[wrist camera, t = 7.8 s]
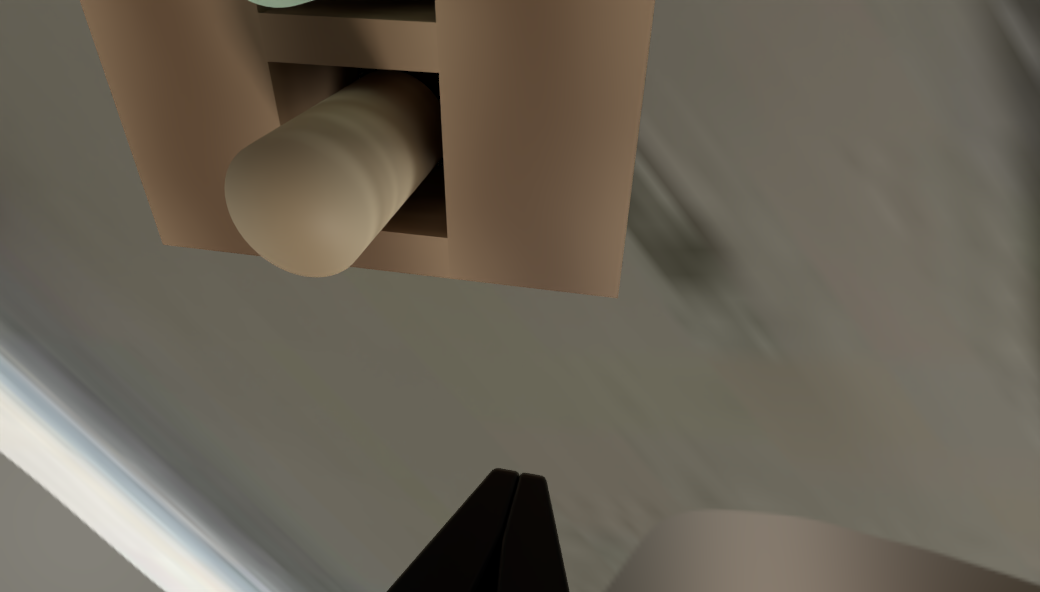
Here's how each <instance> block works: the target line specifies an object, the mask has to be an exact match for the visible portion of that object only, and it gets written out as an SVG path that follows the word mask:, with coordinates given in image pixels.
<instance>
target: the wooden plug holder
mask: <svg viewBox="0 0 1040 592" xmlns="http://www.w3.org/2000/svg"><path fill="white" fill-rule="evenodd" d="M80 2H81V5H82V8H83V11H84V14H85V17H86V20H87V23H88V26H89V29H90V31H91V34H92V37H93V40H94V43H95V46H96V49H97V52H98V55H99V58H100V61H101V64H102V67H103V70H104V73H105V75H106V78H107V81H108V84H109V87H110V90H111V93H112V96H113V99H114V102H115V105H116V108H117V111H118V114H119V116H120V119H121V122H122V125H123V128H124V131H125V134H126V137H127V140H128V143H129V146H130V149H131V152H132V155H133V158H134V160H135V163H136V166H137V169H138V172H139V175H140V178H141V181H142V184H143V187H144V190H145V193H146V196H147V199H148V202H149V204H150V207H151V210H152V213H153V216H154V219H155V222H156V225H157V228H158V231H159V234H160V237H161V240H162V243H163V245H171V246H180V247H188V248H197V249H205V250H214V251H222V252H231V253H239V254H247V255H256V256H261V255H259V254H258V253H257V252H256V251H255V250H254V249H253V248H252V247H251V246H250V245H249V244H248V243H247V242H246V241H245V239H244V238H243V237H242V235H241V234H240V233H239V231H238V229H237V228H236V226H235V224H234V223H233V220H232V218H231V216H230V214H229V211H228V207H227V204H226V199H225V189H224V187H225V177H226V173H227V170H228V167H229V165H230V163H231V161H232V160H233V158H234V157H235V156H236V155H237V154H238V153H239V151H241V150H242V149H244V148H245V147H246V146H248V145H250V144H251V143H253V142H255V141H256V140H258V139H260V138H261V137H263V136H265V135H266V134H268V133H270V132H271V131H273V130H275V129H276V128H278V127H280V126H281V125H283V124H285V123H286V122H288V121H290V120H291V119H293V118H295V117H296V116H298V115H300V114H301V113H303V112H305V111H306V110H308V109H310V108H311V107H313V106H315V105H316V104H318V103H320V102H321V101H323V100H325V99H326V98H328V97H330V96H331V95H333V94H335V93H336V92H338V91H340V90H341V89H343V88H345V87H346V86H348V85H350V84H351V83H353V82H355V81H356V80H358V74H357V67H358V68H373V69H388V70H403V71H418V72H433V73H439V86H440V105H441V123H442V142H443V161H444V167H434V168H433V169H432V170H431V172H430V173H429V174H428V175H427V176H426V178H425V179H424V180H423V181H422V182H421V183H420V185H419V186H418V187H417V188H416V189H415V191H414V192H413V193H412V194H411V195H410V197H409V198H408V199H407V200H406V201H405V202H404V204H403V205H402V206H401V207H400V208H399V210H398V211H397V212H396V213H395V214H394V216H393V217H392V218H391V219H390V220H389V221H388V223H387V224H386V225H385V226H384V227H383V229H382V230H381V231H380V232H379V233H378V235H377V236H376V237H375V238H374V239H373V241H372V242H371V243H370V244H369V245H368V246H367V248H366V249H365V250H364V251H363V252H362V254H361V255H360V256H359V257H358V258H357V259H356V261H355V262H354V263H353V264H352V265H351V266H349V267H358V268H366V269H375V270H383V271H392V272H400V273H409V274H417V275H426V276H434V277H443V278H451V279H460V280H468V281H476V282H485V283H493V284H502V285H510V286H519V287H527V288H536V289H544V290H553V291H561V292H570V293H578V294H587V295H595V296H604V297H612V298H618V292H619V284H620V276H621V268H622V260H623V252H624V244H625V236H626V228H627V220H628V212H629V204H630V196H631V188H632V180H633V172H634V164H635V156H636V148H637V140H638V132H639V124H640V116H641V108H642V100H643V92H644V84H645V76H646V68H647V60H648V52H649V44H650V36H651V28H652V21H653V13H654V5H655V0H313V1H310V2H306V3H303V4H299V5H296V6H291V7H283V8H275V7H267V6H263V5H259V4H255V3H253V2H251V1H248V0H80Z"/></svg>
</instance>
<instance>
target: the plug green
mask: <svg viewBox="0 0 1040 592" xmlns="http://www.w3.org/2000/svg"><path fill="white" fill-rule="evenodd" d="M248 1H251V2H253V3H255V4H259V5H263V6H267V7H275V8H283V7H291V6H296V5H299V4H303V3H306V2H310V1H313V0H248Z"/></svg>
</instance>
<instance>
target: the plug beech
mask: <svg viewBox="0 0 1040 592" xmlns="http://www.w3.org/2000/svg"><path fill="white" fill-rule="evenodd" d="M442 156H443V142H442V123H441V105H440V103H439V101H438V99H437V98H436V96H435V95H434V94H433V93H432V91H431V90H430V89H429V88H428V87H427V86H426V85H425V84H423V83H422V82H421V81H419V80H418V79H416V78H415V77H413V76H411V75H409V74H406V73H404V72H400V71H396V70H378V71H374V72H371V73H369V74H367V75H365V76H363V77H361V78H360V79H358V80H356V81H355V82H353V83H351V84H350V85H348V86H346V87H345V88H343V89H341V90H340V91H338V92H336V93H335V94H333V95H331V96H330V97H328V98H326V99H325V100H323V101H321V102H320V103H318V104H316V105H315V106H313V107H311V108H310V109H308V110H306V111H305V112H303V113H301V114H300V115H298V116H296V117H295V118H293V119H291V120H290V121H288V122H286V123H285V124H283V125H281V126H280V127H278V128H276V129H275V130H273V131H271V132H270V133H268V134H266V135H265V136H263V137H261V138H260V139H258V140H256V141H255V142H253V143H251V144H250V145H248V146H246V147H245V148H244V149H242V150H241V151H239V153H238V154H237V155H236V156H235V157H234V158H233V160H232V161H231V163H230V165H229V167H228V170H227V173H226V177H225V187H224V189H225V199H226V204H227V207H228V211H229V214H230V216H231V218H232V220H233V223H234V224H235V226H236V228H237V229H238V231H239V233H240V234H241V235H242V237H243V238H244V239H245V241H246V242H247V243H248V244H249V245H250V246H251V247H252V248H253V249H254V250H255V251H256V252H257V253H258V254H259V255H261V256H262V257H263V258H264V259H266V260H267V261H269V262H270V263H272V264H273V265H275V266H277V267H279V268H281V269H283V270H286V271H288V272H290V273H294V274H297V275H301V276H307V277H326V276H331V275H334V274H337V273H340V272H342V271H343V270H345V269H347V268H348V267H349V266H351V265H352V264H353V263H354V262H355V261H356V259H357V258H358V257H359V256H360V255H361V254H362V252H363V251H364V250H365V249H366V248H367V246H368V245H369V244H370V243H371V242H372V241H373V239H374V238H375V237H376V236H377V235H378V233H379V232H380V231H381V230H382V229H383V227H384V226H385V225H386V224H387V223H388V221H389V220H390V219H391V218H392V217H393V216H394V214H395V213H396V212H397V211H398V210H399V208H400V207H401V206H402V205H403V204H404V202H405V201H406V200H407V199H408V198H409V197H410V195H411V194H412V193H413V192H414V191H415V189H416V188H417V187H418V186H419V185H420V183H421V182H422V181H423V180H424V179H425V178H426V176H427V175H428V174H429V173H430V172H431V170H432V169H433V168H434V167H435V166H436V164H437V163H438V162H439V161H440V159H441V158H442Z"/></svg>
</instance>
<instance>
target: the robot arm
mask: <svg viewBox="0 0 1040 592" xmlns="http://www.w3.org/2000/svg"><path fill="white" fill-rule="evenodd" d="M387 592H569V587H568V582H567V577H566V572H565V568H564V563H563V558H562V553H561V548H560V544H559V539H558V534H557V529H556V524H555V519H554V515H553V510H552V505H551V500H550V495H549V491H548V486H547V481H546V479H545V477H543V476H540V475H535V474H529V473H522V474H521V475H520V476H519V473H518V472H516V471H512V470H506V469H501V468H496V469H494V470H492V471H491V472H490V473H489V475H488V476H487V477H486V478H485V479H484V480H483V481H482V483H481V484H480V485H479V486H478V487H477V488H476V490H475V491H474V492H473V493H472V494H471V495H470V496H469V498H468V499H467V500H466V501H465V502H464V503H463V504H462V506H461V507H460V508H459V509H458V510H457V511H456V513H455V514H454V515H453V516H452V517H451V518H450V519H449V521H448V522H447V523H446V524H445V525H444V526H443V527H442V529H441V530H440V531H439V532H438V533H437V534H436V536H435V537H434V538H433V539H432V540H431V541H430V542H429V544H428V545H427V546H426V547H425V548H424V549H423V550H422V552H421V553H420V554H419V555H418V556H417V557H416V559H415V560H414V561H413V562H412V563H411V564H410V565H409V567H408V568H407V569H406V570H405V571H404V572H403V573H402V575H401V576H400V577H399V578H398V579H397V580H396V582H395V583H394V584H393V585H392V586H391V587H390V588H389V590H388V591H387Z"/></svg>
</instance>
